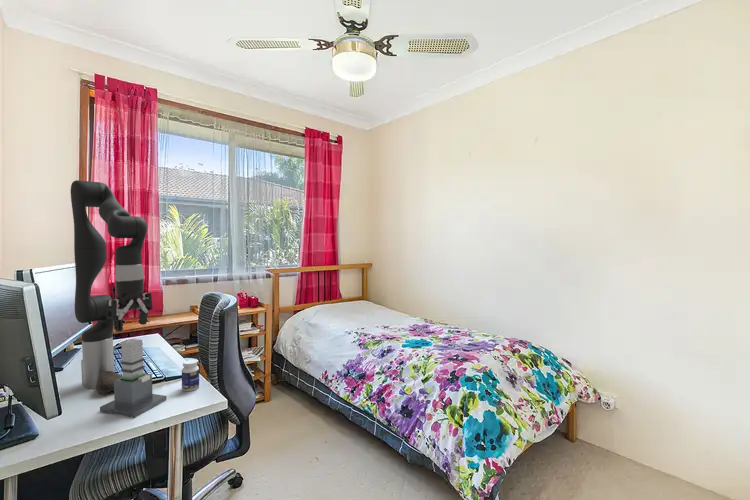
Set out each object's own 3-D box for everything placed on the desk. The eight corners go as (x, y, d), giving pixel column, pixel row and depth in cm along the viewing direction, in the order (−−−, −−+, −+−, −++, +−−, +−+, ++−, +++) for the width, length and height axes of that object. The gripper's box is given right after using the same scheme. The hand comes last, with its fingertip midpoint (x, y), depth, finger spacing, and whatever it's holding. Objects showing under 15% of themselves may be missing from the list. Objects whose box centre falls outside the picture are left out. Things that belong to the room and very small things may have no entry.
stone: (113, 394, 137) (87, 381, 131) (131, 375, 139) (107, 362, 134) (112, 408, 129) (85, 395, 123) (132, 388, 131) (106, 375, 126)
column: (121, 388, 118) (119, 342, 117) (134, 382, 122) (132, 338, 121) (132, 389, 117) (131, 343, 116) (145, 383, 121) (143, 339, 120)
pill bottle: (192, 392, 130) (191, 365, 129) (178, 390, 131) (177, 363, 130) (202, 385, 135) (202, 359, 135) (189, 384, 137) (188, 358, 136)
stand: (99, 411, 116) (98, 380, 115) (133, 395, 128) (132, 366, 127) (134, 417, 112) (133, 385, 112) (166, 400, 124) (165, 370, 123)
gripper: (139, 275, 125) (141, 321, 126) (98, 280, 112) (100, 332, 113) (157, 276, 123) (159, 323, 124) (117, 281, 110) (119, 334, 111)
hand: (131, 327), depth 118 cm, fingers open, 8 cm apart
